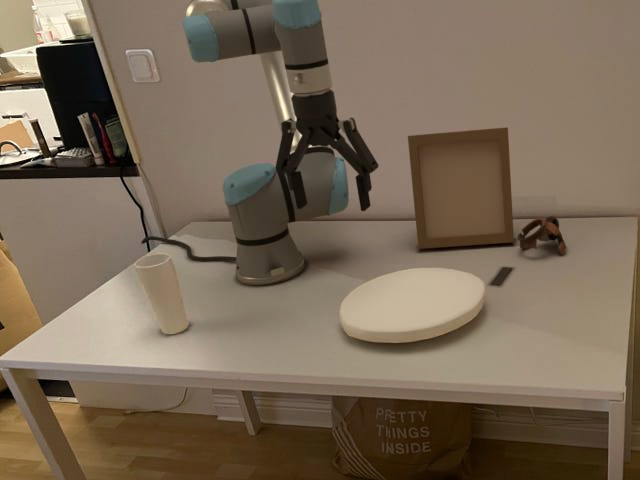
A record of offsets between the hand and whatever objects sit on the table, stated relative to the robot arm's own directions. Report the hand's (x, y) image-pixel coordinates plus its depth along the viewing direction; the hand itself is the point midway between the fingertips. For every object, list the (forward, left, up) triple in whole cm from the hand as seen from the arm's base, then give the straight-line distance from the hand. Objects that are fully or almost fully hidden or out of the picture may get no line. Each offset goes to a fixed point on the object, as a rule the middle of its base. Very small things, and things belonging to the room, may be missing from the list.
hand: (333, 207), depth 137 cm
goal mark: (+27, +16, -20) cm, 37 cm away
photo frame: (+12, +35, -20) cm, 42 cm away
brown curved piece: (+32, +31, -20) cm, 49 cm away
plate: (+16, -4, -20) cm, 26 cm away
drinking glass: (-30, -19, -20) cm, 41 cm away
